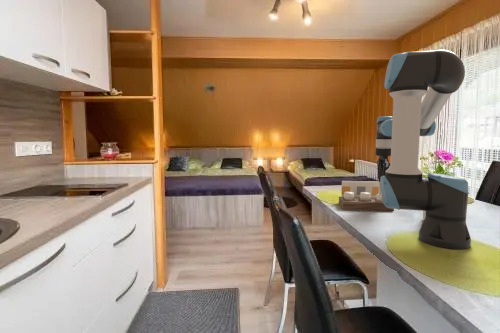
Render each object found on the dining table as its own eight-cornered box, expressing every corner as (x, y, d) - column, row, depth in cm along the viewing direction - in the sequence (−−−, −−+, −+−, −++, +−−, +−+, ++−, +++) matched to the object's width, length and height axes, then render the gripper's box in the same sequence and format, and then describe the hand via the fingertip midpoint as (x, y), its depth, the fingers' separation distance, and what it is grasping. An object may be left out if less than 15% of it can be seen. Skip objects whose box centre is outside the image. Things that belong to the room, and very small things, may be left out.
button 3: (354, 202, 146) (355, 193, 146) (344, 201, 147) (345, 193, 147) (352, 199, 151) (352, 191, 151) (343, 199, 152) (343, 191, 151)
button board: (393, 211, 141) (394, 203, 140) (342, 209, 144) (343, 201, 144) (385, 205, 153) (385, 197, 152) (338, 203, 156) (338, 196, 155)
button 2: (371, 202, 145) (371, 194, 145) (361, 202, 146) (361, 193, 146) (368, 200, 150) (369, 192, 150) (359, 200, 151) (359, 191, 150)
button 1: (387, 204, 144) (388, 195, 144) (377, 204, 145) (378, 195, 145) (384, 202, 149) (385, 194, 149) (375, 201, 150) (375, 193, 149)
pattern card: (380, 203, 156) (381, 181, 154) (341, 202, 158) (341, 181, 157) (379, 203, 157) (380, 181, 156) (340, 202, 160) (341, 180, 158)
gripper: (396, 148, 137) (394, 197, 140) (387, 147, 150) (385, 191, 153) (380, 148, 138) (377, 196, 141) (372, 147, 151) (370, 191, 154)
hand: (381, 194), depth 147 cm, fingers closed
